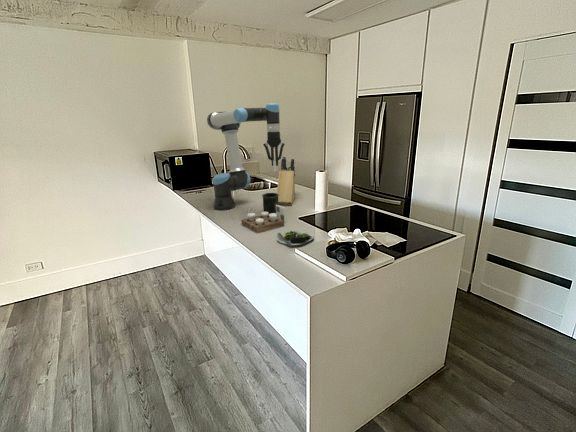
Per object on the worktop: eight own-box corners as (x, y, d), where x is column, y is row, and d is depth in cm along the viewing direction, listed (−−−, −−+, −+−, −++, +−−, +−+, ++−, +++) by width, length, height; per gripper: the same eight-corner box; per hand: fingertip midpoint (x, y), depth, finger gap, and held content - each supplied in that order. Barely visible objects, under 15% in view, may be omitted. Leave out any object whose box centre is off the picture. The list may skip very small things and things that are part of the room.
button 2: (254, 227, 178) (254, 219, 176) (261, 225, 180) (260, 217, 178) (258, 229, 174) (258, 221, 173) (265, 227, 177) (264, 219, 175)
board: (241, 224, 185) (241, 219, 184) (267, 218, 195) (267, 213, 194) (257, 233, 171) (257, 227, 170) (284, 225, 181) (283, 220, 180)
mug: (264, 215, 200) (263, 197, 196) (261, 209, 214) (260, 192, 210) (281, 214, 202) (280, 196, 198) (276, 208, 216) (276, 191, 212)
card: (276, 218, 194) (275, 204, 191) (280, 217, 196) (280, 203, 193) (284, 222, 187) (284, 208, 184) (289, 221, 189) (288, 206, 186)
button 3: (260, 220, 189) (259, 212, 188) (266, 218, 192) (265, 211, 190) (263, 221, 186) (263, 214, 185) (270, 220, 188) (269, 212, 187)
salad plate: (266, 241, 161) (266, 232, 160) (290, 231, 174) (290, 223, 172) (294, 251, 149) (294, 242, 147) (318, 239, 161) (318, 231, 159)
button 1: (246, 221, 184) (246, 213, 183) (253, 219, 187) (252, 212, 185) (250, 223, 181) (249, 215, 179) (257, 221, 183) (256, 214, 182)
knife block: (296, 193, 252) (295, 155, 242) (291, 206, 218) (290, 161, 209) (282, 193, 253) (281, 155, 243) (275, 206, 220) (274, 162, 210)
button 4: (267, 222, 182) (267, 214, 181) (274, 220, 185) (273, 212, 183) (272, 224, 179) (271, 216, 177) (278, 222, 181) (278, 214, 180)
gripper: (261, 131, 182) (263, 172, 189) (283, 131, 180) (284, 172, 187) (264, 131, 189) (266, 170, 196) (285, 130, 187) (286, 170, 194)
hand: (275, 171), depth 191 cm, fingers closed
